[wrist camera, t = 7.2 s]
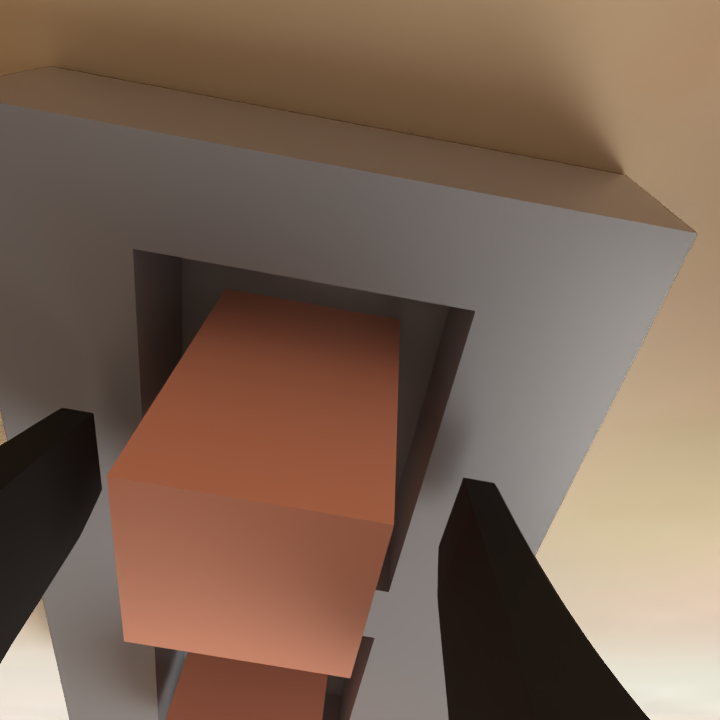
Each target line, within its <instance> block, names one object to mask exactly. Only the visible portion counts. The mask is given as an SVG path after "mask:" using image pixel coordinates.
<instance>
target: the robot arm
mask: <svg viewBox="0 0 720 720" xmlns="http://www.w3.org/2000/svg"><path fill="white" fill-rule="evenodd" d="M101 491H102V483H101V474H100V465H99V456H98V447H97V438H96V429H95V420H94V413H90V412H84V411H79V410H73V409H67V408H61V409H59V410H57V411H55V412H54V413H52V414H50V415H49V416H47V417H45V418H44V419H42V420H41V421H39V422H37V423H36V424H34V425H32V426H31V427H29V428H28V429H26V430H24V431H23V432H21V433H20V434H18V435H16V436H15V437H13V438H12V439H10V440H8V441H7V442H5V443H4V444H2V445H0V663H1V661H2V660H3V658H4V656H5V655H6V653H7V651H8V650H9V648H10V646H11V644H12V643H13V641H14V640H15V638H16V637H17V635H18V634H19V632H20V630H21V629H22V627H23V626H24V624H25V623H26V621H27V620H28V618H29V616H30V615H31V613H32V612H33V610H34V609H35V607H36V605H37V604H38V602H39V601H40V599H41V598H42V596H43V595H44V593H45V591H46V590H47V588H48V587H49V585H50V584H51V582H52V581H53V579H54V577H55V576H56V574H57V573H58V571H59V570H60V568H61V566H62V565H63V563H64V562H65V560H66V558H67V557H68V555H69V554H70V552H71V551H72V549H73V547H74V546H75V544H76V542H77V541H78V539H79V538H80V536H81V534H82V532H83V529H84V527H85V525H86V523H87V521H88V519H89V517H90V515H91V513H92V511H93V509H94V506H95V504H96V502H97V500H98V498H99V495H100V493H101ZM437 599H438V611H439V622H440V633H441V644H442V654H443V665H444V675H445V686H446V696H447V707H448V718H449V720H650V719H649V718H648V717H647V716H646V715H645V713H644V712H643V711H642V710H641V709H640V707H639V706H638V705H637V704H636V702H635V701H634V700H633V699H632V697H631V696H630V695H629V694H628V693H627V691H626V690H625V689H624V688H623V686H622V685H621V684H620V682H619V681H618V680H617V678H616V677H615V676H614V674H613V673H612V672H611V671H610V669H609V668H608V667H607V665H606V664H605V663H604V661H603V660H602V659H601V657H600V656H599V654H598V653H597V652H596V650H595V649H594V648H593V646H592V645H591V643H590V642H589V640H588V639H587V638H586V636H585V635H584V633H583V632H582V630H581V629H580V627H579V626H578V624H577V623H576V621H575V620H574V618H573V617H572V615H571V614H570V612H569V611H568V609H567V608H566V606H565V605H564V603H563V602H562V600H561V599H560V597H559V595H558V594H557V592H556V591H555V589H554V587H553V586H552V584H551V582H550V581H549V579H548V577H547V576H546V574H545V572H544V571H543V569H542V567H541V566H540V564H539V562H538V561H537V559H536V557H535V556H534V554H533V552H532V550H531V549H530V547H529V545H528V543H527V542H526V540H525V538H524V536H523V534H522V533H521V531H520V529H519V527H518V525H517V523H516V522H515V520H514V518H513V516H512V514H511V512H510V510H509V508H508V507H507V505H506V503H505V501H504V499H503V497H502V495H501V493H500V491H499V489H498V488H497V486H496V485H495V483H492V482H486V481H481V480H475V479H469V478H463V480H462V483H461V486H460V488H459V491H458V494H457V497H456V500H455V502H454V505H453V508H452V511H451V513H450V516H449V519H448V522H447V525H446V527H445V530H444V533H443V536H442V538H441V541H440V544H439V547H438V588H437Z"/></svg>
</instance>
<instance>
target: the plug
mask: <svg viewBox="0 0 720 720" xmlns="http://www.w3.org/2000/svg"><path fill="white" fill-rule="evenodd" d="M399 345H400V320H398V319H392V318H387V317H381V316H376V315H370V314H364V313H359V312H353V311H348V310H342V309H337V308H331V307H325V306H320V305H314V304H309V303H303V302H298V301H292V300H287V299H281V298H275V297H270V296H264V295H259V294H253V293H248V292H242V291H236V290H231V289H225V290H224V292H223V293H222V295H221V296H220V298H219V300H218V301H217V303H216V304H215V306H214V307H213V309H212V311H211V312H210V314H209V315H208V317H207V318H206V320H205V322H204V323H203V325H202V326H201V328H200V330H199V331H198V333H197V334H196V336H195V337H194V339H193V341H192V342H191V344H190V345H189V347H188V348H187V350H186V352H185V353H184V355H183V356H182V358H181V359H180V361H179V363H178V364H177V366H176V367H175V369H174V370H173V372H172V374H171V375H170V377H169V378H168V380H167V381H166V383H165V385H164V386H163V388H162V389H161V391H160V392H159V394H158V396H157V397H156V399H155V400H154V402H153V403H152V405H151V407H150V408H149V410H148V411H147V413H146V414H145V416H144V418H143V419H142V421H141V422H140V424H139V425H138V427H137V429H136V430H135V432H134V433H133V435H132V437H131V438H130V440H129V441H128V443H127V444H126V446H125V448H124V449H123V451H122V452H121V454H120V455H119V457H118V459H117V460H116V462H115V463H114V465H113V466H112V468H111V470H110V471H109V473H108V474H107V485H108V495H109V504H110V513H111V523H112V532H113V542H114V551H115V561H116V570H117V579H118V589H119V598H120V608H121V617H122V626H123V636H124V641H125V642H131V643H137V644H143V645H149V646H156V647H162V648H168V649H174V650H180V651H186V652H192V653H198V654H204V655H211V656H217V657H223V658H229V659H235V660H241V661H247V662H253V663H259V664H266V665H272V666H278V667H284V668H290V669H296V670H302V671H308V672H314V673H321V674H327V675H333V676H339V677H345V678H351V674H352V671H353V667H354V664H355V660H356V657H357V653H358V650H359V646H360V643H361V639H362V636H363V632H364V629H365V625H366V622H367V618H368V615H369V611H370V608H371V604H372V601H373V597H374V594H375V590H376V587H377V583H378V580H379V576H380V573H381V569H382V566H383V562H384V559H385V555H386V552H387V548H388V545H389V541H390V538H391V534H392V531H393V527H394V512H395V479H396V445H397V412H398V379H399Z"/></svg>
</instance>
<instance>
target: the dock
mask: <svg viewBox="0 0 720 720" xmlns="http://www.w3.org/2000/svg"><path fill="white" fill-rule="evenodd" d="M697 234H698V233H697V232H695V231H694V230H693V229H692V228H690V227H689V226H688V225H687V224H686V223H684V222H683V221H682V220H681V219H679V218H678V217H677V216H676V215H674V214H673V213H672V212H671V211H670V210H668V209H667V208H666V207H665V206H663V205H662V204H661V203H660V202H659V201H657V200H656V199H655V198H654V197H652V196H651V195H650V194H649V193H648V192H646V191H645V190H644V189H643V188H641V187H640V186H639V185H638V184H637V183H635V182H634V181H633V180H632V179H630V178H629V177H628V176H627V175H622V174H617V173H612V172H607V171H601V170H596V169H591V168H585V167H580V166H575V165H569V164H564V163H559V162H554V161H548V160H543V159H538V158H532V157H527V156H522V155H517V154H511V153H506V152H501V151H495V150H490V149H485V148H480V147H474V146H469V145H464V144H458V143H453V142H448V141H443V140H437V139H432V138H427V137H421V136H416V135H411V134H405V133H400V132H395V131H390V130H384V129H379V128H374V127H368V126H363V125H358V124H353V123H347V122H342V121H337V120H331V119H326V118H321V117H316V116H310V115H305V114H300V113H294V112H289V111H284V110H279V109H273V108H268V107H263V106H257V105H252V104H247V103H242V102H236V101H231V100H226V99H220V98H215V97H210V96H204V95H199V94H194V93H189V92H183V91H178V90H173V89H167V88H162V87H157V86H152V85H146V84H141V83H136V82H130V81H125V80H120V79H115V78H109V77H104V76H99V75H93V74H88V73H83V72H78V71H72V70H67V69H62V68H56V67H46V68H40V69H35V70H30V71H25V72H19V73H14V74H9V75H3V76H0V410H1V415H2V419H3V424H4V428H5V433H6V437H7V441H8V440H10V439H12V438H13V437H15V436H16V435H18V434H20V433H21V432H23V431H24V430H26V429H28V428H29V427H31V426H32V425H34V424H36V423H37V422H39V421H41V420H42V419H44V418H45V417H47V416H49V415H50V414H52V413H54V412H55V411H57V410H59V409H61V408H67V409H73V410H79V411H84V412H90V413H94V420H95V429H96V438H97V447H98V456H99V465H100V474H101V483H102V491H101V493H100V495H99V498H98V500H97V502H96V504H95V506H94V509H93V511H92V513H91V515H90V517H89V519H88V521H87V523H86V525H85V527H84V529H83V532H82V534H81V536H80V538H79V539H78V541H77V542H76V544H75V546H74V547H73V549H72V551H71V552H70V554H69V555H68V557H67V558H66V560H65V562H64V563H63V565H62V566H61V568H60V570H59V571H58V573H57V574H56V576H55V577H54V579H53V581H52V582H51V584H50V585H49V587H48V588H47V590H46V591H45V593H44V595H43V596H42V599H43V603H44V608H45V612H46V617H47V621H48V625H49V630H50V634H51V639H52V643H53V648H54V652H55V657H56V661H57V666H58V670H59V675H60V679H61V684H62V688H63V693H64V697H65V702H66V706H67V711H68V715H69V720H449V718H448V707H447V696H446V686H445V675H444V665H443V654H442V644H441V633H440V622H439V611H438V599H437V588H438V547H439V544H440V541H441V538H442V536H443V533H444V530H445V527H446V525H447V522H448V519H449V516H450V513H451V511H452V508H453V505H454V502H455V500H456V497H457V494H458V491H459V488H460V486H461V483H462V480H463V478H469V479H475V480H481V481H486V482H492V483H495V485H496V486H497V488H498V489H499V491H500V493H501V495H502V497H503V499H504V501H505V503H506V505H507V507H508V508H509V510H510V512H511V514H512V516H513V518H514V520H515V522H516V523H517V525H518V527H519V529H520V531H521V533H522V534H523V536H524V538H525V540H526V542H527V543H528V545H529V547H530V549H531V550H532V552H533V554H534V556H535V555H536V553H537V551H538V549H539V547H540V545H541V543H542V541H543V539H544V537H545V535H546V533H547V531H548V529H549V527H550V525H551V523H552V521H553V519H554V517H555V515H556V513H557V511H558V509H559V507H560V506H561V504H562V502H563V500H564V498H565V496H566V494H567V492H568V490H569V488H570V486H571V484H572V482H573V480H574V478H575V476H576V474H577V472H578V470H579V468H580V466H581V464H582V462H583V460H584V458H585V456H586V454H587V452H588V450H589V448H590V446H591V444H592V442H593V440H594V438H595V436H596V434H597V432H598V430H599V428H600V426H601V424H602V422H603V420H604V418H605V416H606V414H607V412H608V410H609V408H610V406H611V404H612V402H613V400H614V398H615V396H616V394H617V392H618V390H619V388H620V386H621V385H622V383H623V381H624V379H625V377H626V375H627V373H628V371H629V369H630V367H631V365H632V363H633V361H634V359H635V357H636V355H637V353H638V351H639V349H640V347H641V345H642V343H643V341H644V339H645V337H646V335H647V333H648V331H649V329H650V327H651V325H652V323H653V321H654V319H655V317H656V315H657V313H658V311H659V309H660V307H661V305H662V303H663V301H664V299H665V297H666V295H667V293H668V291H669V289H670V287H671V285H672V283H673V281H674V279H675V277H676V275H677V273H678V271H679V269H680V267H681V265H682V264H683V262H684V260H685V258H686V256H687V254H688V252H689V250H690V248H691V246H692V244H693V242H694V240H695V238H696V236H697ZM225 289H231V290H236V291H242V292H248V293H253V294H259V295H264V296H270V297H275V298H281V299H287V300H292V301H298V302H303V303H309V304H314V305H320V306H325V307H331V308H337V309H342V310H348V311H353V312H359V313H364V314H370V315H376V316H381V317H387V318H392V319H398V320H400V345H399V379H398V412H397V445H396V479H395V512H394V527H393V531H392V534H391V538H390V541H389V545H388V548H387V552H386V555H385V559H384V562H383V566H382V569H381V573H380V576H379V580H378V583H377V587H376V590H375V594H374V597H373V601H372V604H371V608H370V611H369V615H368V618H367V622H366V625H365V629H364V632H363V636H362V639H361V643H360V646H359V650H358V653H357V657H356V660H355V664H354V667H353V671H352V674H351V678H345V677H339V676H333V675H327V674H321V673H314V672H308V671H302V670H296V669H290V668H284V667H278V666H272V665H266V664H259V663H253V662H247V661H241V660H235V659H229V658H223V657H217V656H211V655H204V654H198V653H192V652H186V651H180V650H174V649H168V648H162V647H156V646H149V645H143V644H137V643H131V642H125V641H124V636H123V626H122V617H121V608H120V598H119V589H118V579H117V570H116V561H115V551H114V542H113V532H112V523H111V513H110V504H109V495H108V485H107V474H108V473H109V471H110V470H111V468H112V466H113V465H114V463H115V462H116V460H117V459H118V457H119V455H120V454H121V452H122V451H123V449H124V448H125V446H126V444H127V443H128V441H129V440H130V438H131V437H132V435H133V433H134V432H135V430H136V429H137V427H138V425H139V424H140V422H141V421H142V419H143V418H144V416H145V414H146V413H147V411H148V410H149V408H150V407H151V405H152V403H153V402H154V400H155V399H156V397H157V396H158V394H159V392H160V391H161V389H162V388H163V386H164V385H165V383H166V381H167V380H168V378H169V377H170V375H171V374H172V372H173V370H174V369H175V367H176V366H177V364H178V363H179V361H180V359H181V358H182V356H183V355H184V353H185V352H186V350H187V348H188V347H189V345H190V344H191V342H192V341H193V339H194V337H195V336H196V334H197V333H198V331H199V330H200V328H201V326H202V325H203V323H204V322H205V320H206V318H207V317H208V315H209V314H210V312H211V311H212V309H213V307H214V306H215V304H216V303H217V301H218V300H219V298H220V296H221V295H222V293H223V292H224V290H225Z"/></svg>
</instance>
